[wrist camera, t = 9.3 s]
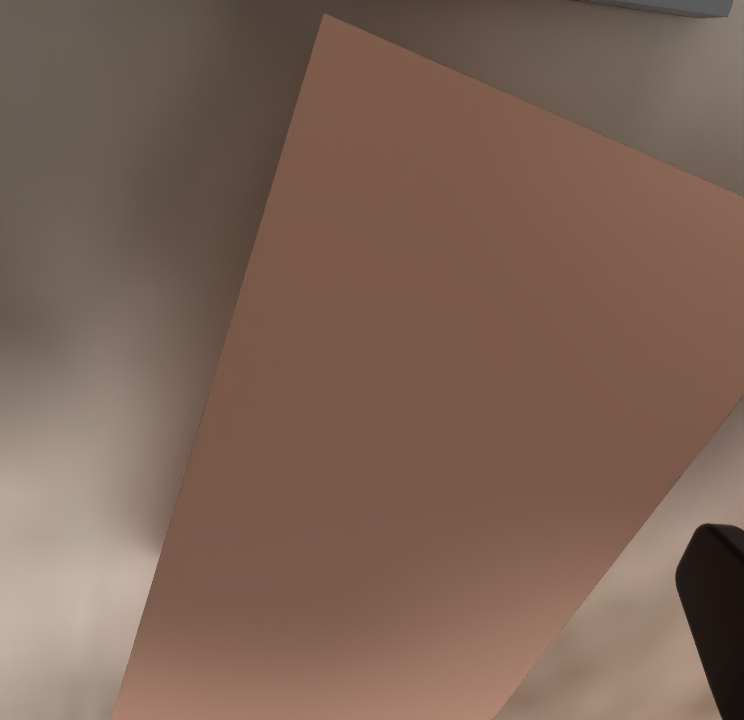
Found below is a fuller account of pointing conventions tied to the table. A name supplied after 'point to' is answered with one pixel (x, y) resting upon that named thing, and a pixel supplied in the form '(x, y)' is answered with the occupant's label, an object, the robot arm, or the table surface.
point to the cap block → (434, 400)
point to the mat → (676, 6)
